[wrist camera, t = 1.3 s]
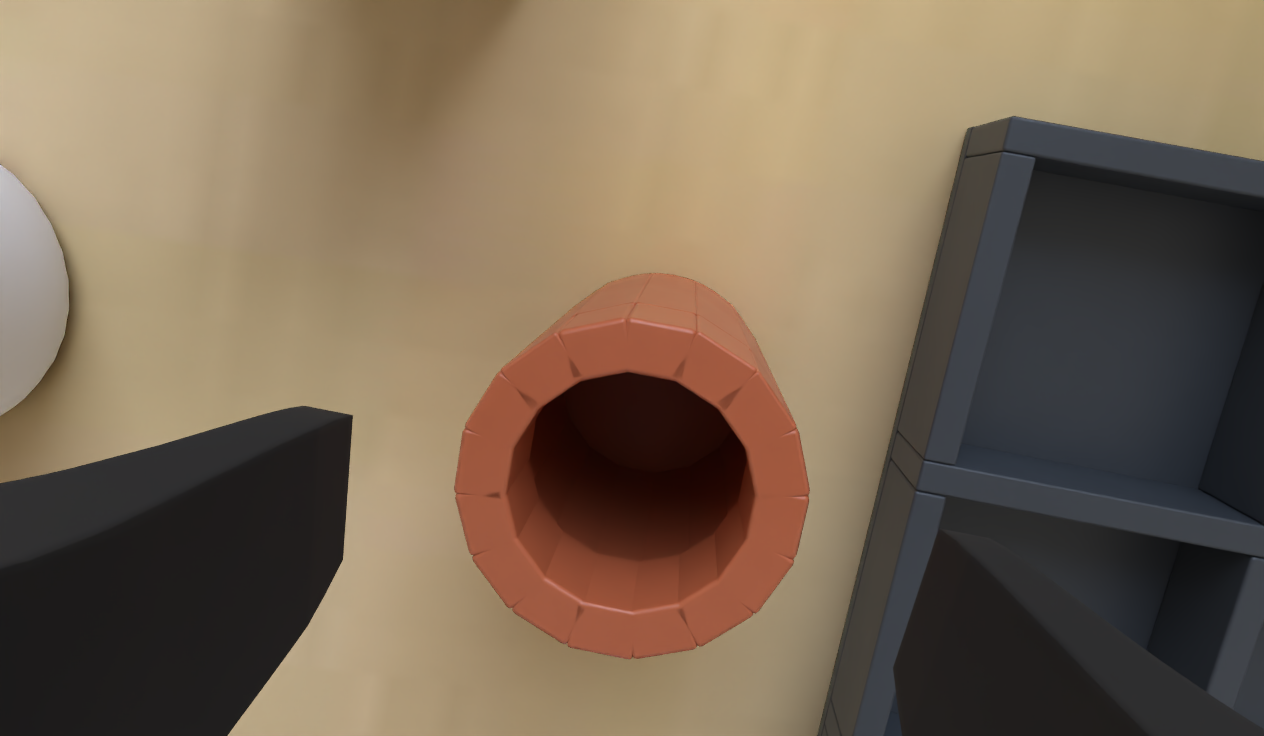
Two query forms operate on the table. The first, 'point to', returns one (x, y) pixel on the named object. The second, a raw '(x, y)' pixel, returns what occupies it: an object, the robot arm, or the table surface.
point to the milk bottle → (28, 292)
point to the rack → (1083, 405)
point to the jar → (635, 473)
